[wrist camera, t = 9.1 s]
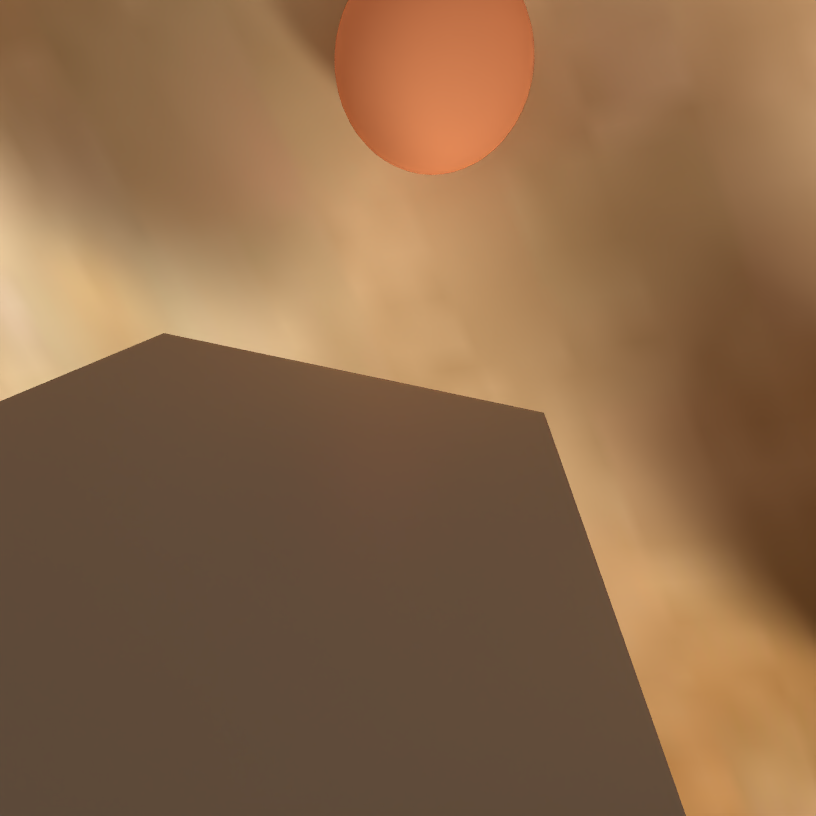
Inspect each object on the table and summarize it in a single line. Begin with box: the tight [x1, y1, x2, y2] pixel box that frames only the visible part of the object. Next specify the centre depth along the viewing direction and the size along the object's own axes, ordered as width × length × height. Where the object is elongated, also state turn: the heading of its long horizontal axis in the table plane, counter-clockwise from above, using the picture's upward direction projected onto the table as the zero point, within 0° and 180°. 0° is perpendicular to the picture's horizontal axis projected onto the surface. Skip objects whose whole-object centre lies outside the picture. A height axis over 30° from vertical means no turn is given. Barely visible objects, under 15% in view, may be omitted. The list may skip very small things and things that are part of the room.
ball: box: [335, 0, 534, 175], centre depth 14 cm, size 5×5×5 cm
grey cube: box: [0, 333, 686, 816], centre depth 8 cm, size 8×8×9 cm
